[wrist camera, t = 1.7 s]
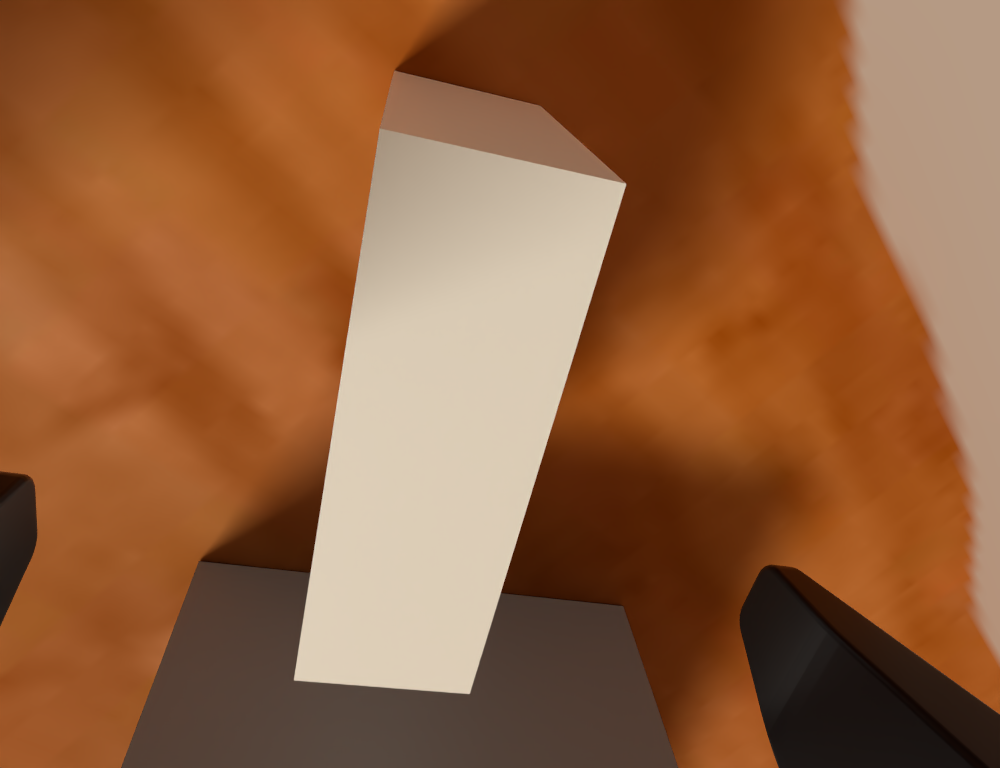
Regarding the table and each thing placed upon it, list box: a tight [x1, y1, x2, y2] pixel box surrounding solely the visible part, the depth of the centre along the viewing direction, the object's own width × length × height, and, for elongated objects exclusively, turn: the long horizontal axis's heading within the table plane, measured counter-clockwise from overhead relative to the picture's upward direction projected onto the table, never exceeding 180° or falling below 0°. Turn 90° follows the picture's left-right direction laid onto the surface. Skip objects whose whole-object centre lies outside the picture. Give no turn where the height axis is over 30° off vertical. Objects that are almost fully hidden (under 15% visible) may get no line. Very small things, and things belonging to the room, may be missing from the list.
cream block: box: [294, 71, 626, 694], centre depth 14 cm, size 3×9×7 cm, turn 166°
